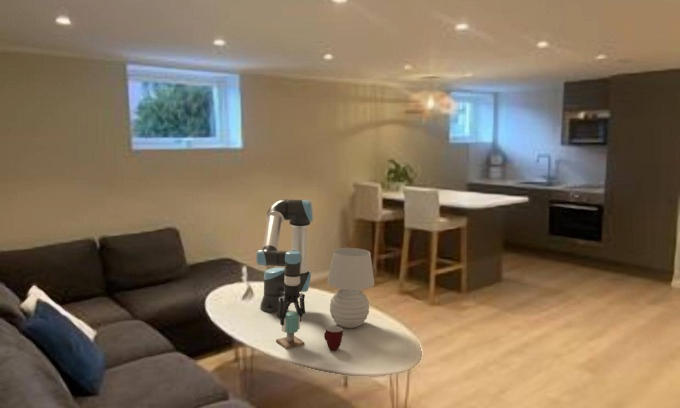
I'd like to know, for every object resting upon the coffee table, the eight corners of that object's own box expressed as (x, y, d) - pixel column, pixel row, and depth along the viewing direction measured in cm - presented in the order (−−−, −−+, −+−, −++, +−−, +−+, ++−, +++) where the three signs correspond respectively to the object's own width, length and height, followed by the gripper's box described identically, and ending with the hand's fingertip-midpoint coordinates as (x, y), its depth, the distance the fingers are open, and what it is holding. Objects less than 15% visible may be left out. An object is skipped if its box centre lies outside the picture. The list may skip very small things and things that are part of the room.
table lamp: (378, 321, 284) (382, 250, 278) (361, 337, 261) (365, 260, 255) (337, 313, 294) (340, 244, 289) (317, 327, 271) (320, 253, 266)
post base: (293, 337, 256) (294, 324, 255) (304, 344, 248) (304, 331, 247) (276, 341, 250) (276, 328, 249) (286, 349, 242) (286, 335, 241)
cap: (293, 326, 253) (293, 311, 252) (300, 331, 247) (301, 315, 246) (280, 329, 249) (281, 313, 248) (287, 334, 243) (288, 317, 242)
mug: (317, 347, 246) (318, 327, 244) (328, 342, 252) (329, 323, 250) (334, 354, 239) (335, 333, 238) (345, 349, 245) (346, 329, 244)
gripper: (305, 279, 254) (304, 323, 257) (269, 284, 242) (268, 331, 245) (313, 283, 248) (312, 328, 251) (277, 288, 236) (276, 336, 239)
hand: (290, 329), depth 248 cm, fingers closed on cap, 7 cm apart
